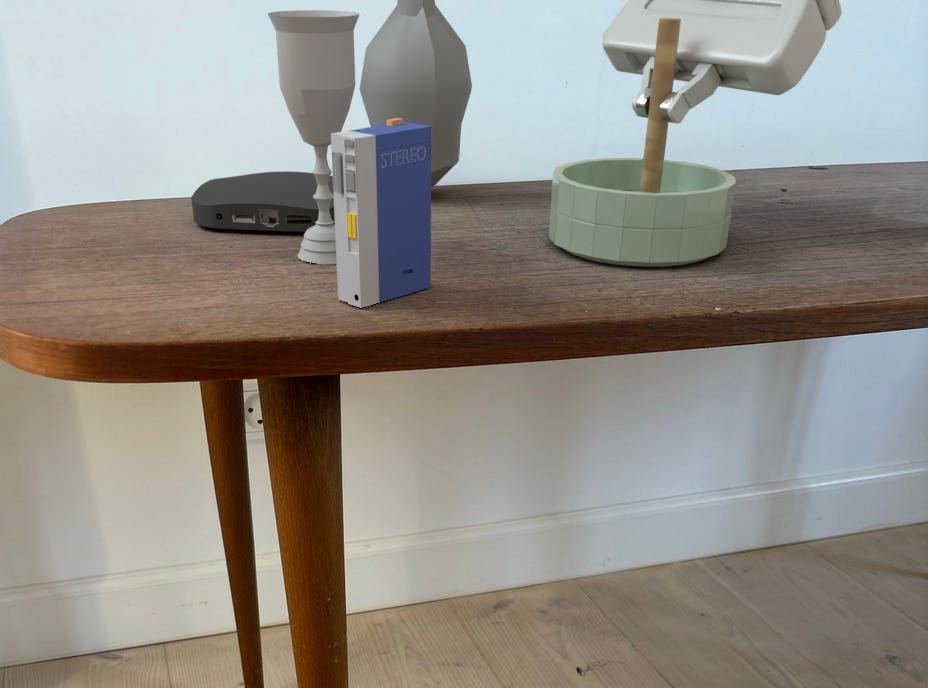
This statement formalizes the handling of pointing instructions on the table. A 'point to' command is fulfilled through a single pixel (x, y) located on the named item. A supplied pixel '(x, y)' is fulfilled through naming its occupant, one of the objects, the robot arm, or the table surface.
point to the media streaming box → (260, 202)
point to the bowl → (640, 212)
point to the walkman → (382, 211)
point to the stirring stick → (659, 103)
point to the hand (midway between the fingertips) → (654, 115)
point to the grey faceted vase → (419, 78)
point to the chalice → (317, 99)
